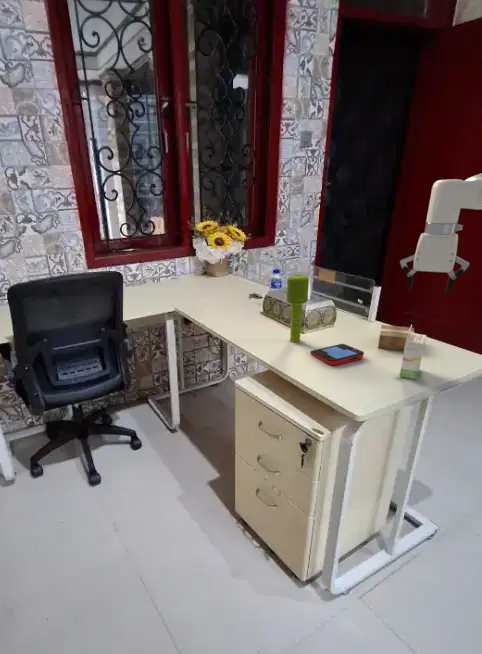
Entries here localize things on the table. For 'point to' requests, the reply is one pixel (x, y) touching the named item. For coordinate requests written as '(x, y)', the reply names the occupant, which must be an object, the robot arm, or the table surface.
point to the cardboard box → (393, 337)
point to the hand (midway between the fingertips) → (428, 290)
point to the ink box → (412, 355)
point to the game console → (338, 354)
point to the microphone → (296, 302)
